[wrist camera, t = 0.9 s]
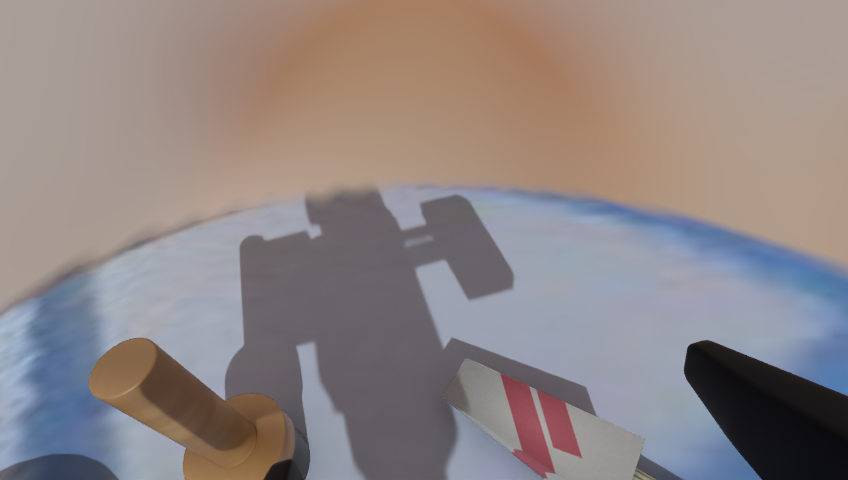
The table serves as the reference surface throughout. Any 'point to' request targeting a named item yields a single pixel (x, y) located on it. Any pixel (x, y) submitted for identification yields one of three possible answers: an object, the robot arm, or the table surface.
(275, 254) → the table surface
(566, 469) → the paintbrush
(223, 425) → the dish brush
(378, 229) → the table surface
